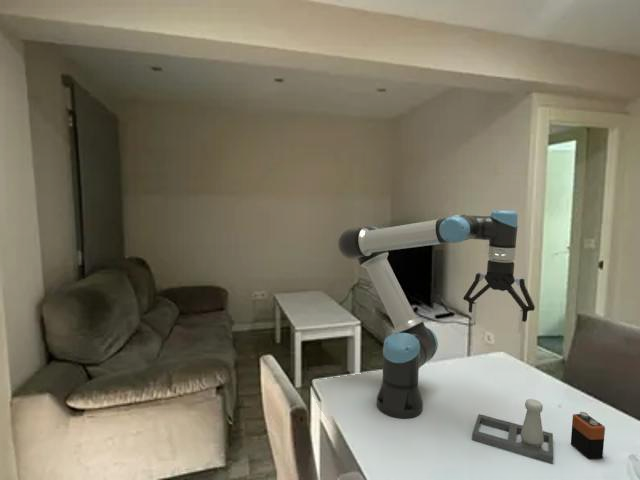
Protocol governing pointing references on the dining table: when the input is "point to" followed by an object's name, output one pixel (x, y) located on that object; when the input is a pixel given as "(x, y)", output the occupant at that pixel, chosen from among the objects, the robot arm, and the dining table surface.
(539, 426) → the salt shaker
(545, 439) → the double window frame
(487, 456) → the dining table surface
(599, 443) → the battery
